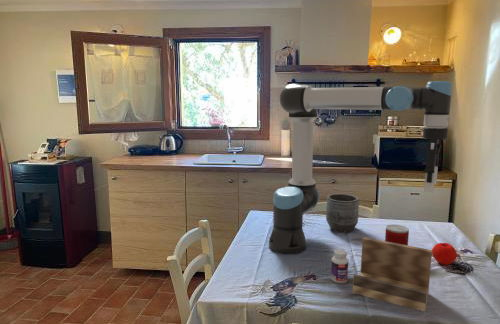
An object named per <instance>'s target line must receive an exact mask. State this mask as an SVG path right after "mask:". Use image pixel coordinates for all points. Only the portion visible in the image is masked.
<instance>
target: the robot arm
mask: <svg viewBox="0 0 500 324" xmlns="http://www.w3.org/2000/svg"><path fill="white" fill-rule="evenodd" d="M452 85H453V84H452V82H450V81H448V80H434V81H431V80H430V81H427V84H426V85H425V87H407V86H404V85H397V86H367V87H365V86H363V87H361V86H359V87H352V86H351V87H346V86H345V87H315V86H313V85H311V84H306V83H295V82H294V83H290V84H288V85H287V84H286V86H284V87H283V89H282V90H281V91H280V94H279V104H280V106H281V108H282V109H283V110H284V111H285V112H287V113H288V118H289V120H290V121H291V123H292V125H291V126H292V128H291V129H292V130H291V131H292V134H291V135H292V141H291V143H292V146H291V147H292V149H291V150H292V151H291V158H292V159H291V178H290V179H289V180H288V182H287V183H288V184H287V186H285V187H281V188H280V187H279V188H278V189H276V190H275V191H274V192H273V199H272V203H273V205H272V206H273V207H272V208H273V214H272V216H273V221H272V223H273V224H272V225H273V226H272V231H271V233H270V236H269V238H268V248H269V247H270V248H269V249H270V250H272V251H273V252H275V253H279V254H287V255H290V254H298V253H299V254H300V253H302V252H304V251H305V250H306V249H307V239H306V235H305V233H304V230H303V223H304V222H303V221H304V220H303V218H304V215H306V214H307V213H308V212H310V211H312V210H313V209H314V208H315V207H316V206H317V205H318V203H319V200H320V194H319V193H320V192H319V190H318V188H317V186H316V185H317V184H316V183H317V181H316V180H315V179H314V178H313V161H314V160H313V157H314V156H313V155H314V151H313V149H314V145H313V144H314V122H315V120H316V119H318V110H365V111H367V110H368V111H370V110H371V111H373V110H375V111H377V110H378V111H395V112H398V111H399V112H401V111H404V110H405V111H406V110H410V111H411V110H421V111H422V110H424V114H423V116H424V117H423V128H422V129H423V130H422V138H423V139H426V140H429V142H428V144H427V145H426V163H425V168H424V169H423V170H422V171H423V173H424V175H425V176H424V185H423V192H427V193H434V187H435V186H434V185H437V183H438V182H437V181H438V180H437V179H438V169H439V168H438V167H440V166H441V163H440V161H439V159H440V157H439V155H440V151H441V147H442V144H441V140H447V139H448V134H449V133H448V132H449V129H448V127H449V121H451V120H452V118H451V117H450V109H451V102H452Z"/></svg>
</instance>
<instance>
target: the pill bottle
mask: <svg viewBox="0 0 500 324" xmlns="http://www.w3.org/2000/svg"><path fill="white" fill-rule="evenodd" d="M330 263H331V265H330V279H331V280H332V281H333V282H335V283H338V284H344V283H347V281H348V278H349V277H348V274H349V259H348V257H347V251H346V250H344V249H339V248H338V249H334V251H333V256H332V257H331V262H330Z"/></svg>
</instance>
